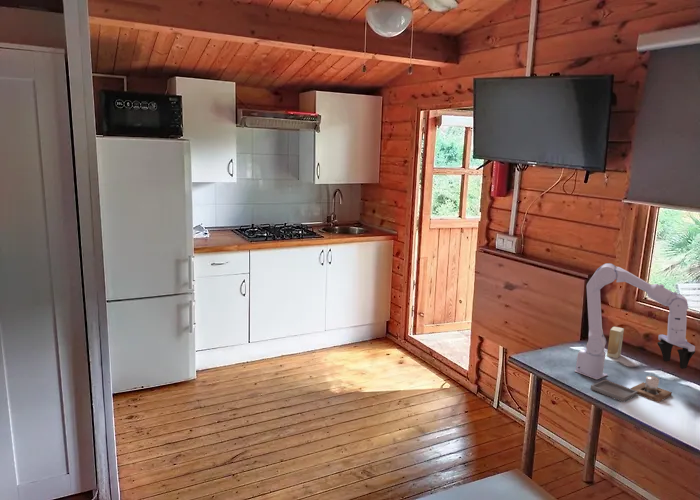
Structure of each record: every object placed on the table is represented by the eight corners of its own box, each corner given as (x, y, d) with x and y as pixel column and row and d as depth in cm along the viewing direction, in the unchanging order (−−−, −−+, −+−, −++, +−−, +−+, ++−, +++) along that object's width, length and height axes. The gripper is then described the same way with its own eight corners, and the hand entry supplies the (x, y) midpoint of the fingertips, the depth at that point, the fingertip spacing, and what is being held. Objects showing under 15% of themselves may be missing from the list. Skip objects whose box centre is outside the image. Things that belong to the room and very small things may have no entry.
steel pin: (642, 392, 192) (644, 377, 191) (647, 390, 195) (649, 374, 194) (653, 397, 189) (656, 381, 188) (658, 394, 192) (661, 378, 191)
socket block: (629, 391, 193) (630, 388, 193) (642, 385, 199) (643, 382, 199) (658, 402, 185) (659, 399, 185) (671, 395, 191) (671, 392, 191)
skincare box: (610, 352, 232) (613, 325, 230) (620, 355, 230) (624, 328, 228) (606, 356, 228) (609, 329, 225) (617, 359, 225) (620, 331, 223)
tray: (590, 389, 194) (590, 385, 193) (604, 383, 200) (605, 379, 199) (623, 402, 184) (623, 398, 184) (636, 395, 190) (637, 391, 190)
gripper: (703, 333, 184) (701, 370, 186) (670, 322, 199) (668, 356, 200) (686, 334, 183) (683, 372, 185) (654, 323, 197) (652, 358, 199)
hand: (674, 364), depth 193 cm, fingers open, 7 cm apart
